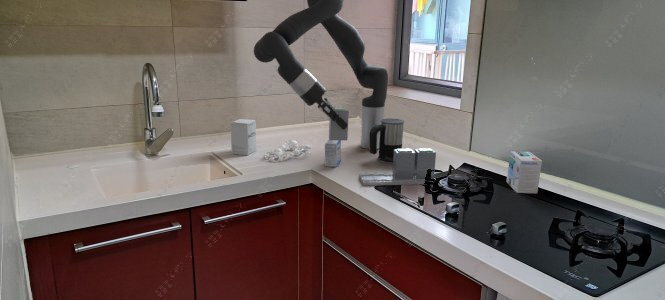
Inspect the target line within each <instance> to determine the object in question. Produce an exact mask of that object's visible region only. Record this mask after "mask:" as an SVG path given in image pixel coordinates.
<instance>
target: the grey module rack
mask: <svg viewBox="0 0 665 300" xmlns="http://www.w3.org/2000/svg"><path fill="white" fill-rule="evenodd" d="M436 156H437V152H436V151H435V149H433V148H415V149H414V150H413V149H412V148H402V149H394V158H393V161H392V163H393V164H392V173H359V174H358V178H359V180H360V182H361V184H362V185H363V187H365V186H366V187H367V186H404V185H405V186H407V185H408V186H409V185H413V184H414V185H425V184H424V183H425V177H426V174H427V170H428V169H431V170H434V171H432V172H431V179H435V180H436V178H435V171H436V159H437V158H436Z"/></svg>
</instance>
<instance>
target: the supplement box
mask: <svg viewBox="0 0 665 300" xmlns="http://www.w3.org/2000/svg"><path fill="white" fill-rule="evenodd" d="M230 141H231V142H230V143H231V147H230V148H231V154H232V155H241V156H242V155H243V156H249V155H251V154H254V152H256V151H257V120H255V119H247V118H239V119H236V120H234V121H231V122H230Z"/></svg>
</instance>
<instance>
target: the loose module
mask: <svg viewBox="0 0 665 300" xmlns="http://www.w3.org/2000/svg"><path fill="white" fill-rule="evenodd" d="M332 109H333V108H332ZM335 109H336V112H337V113H338V114H339V115H340V117H341V118H342V119H343V120H344V121H345V122H346V123H347V124H348V125H349V113H350V112H349V109H348V108H346V107H335ZM335 115H336V114H333V115H332V117H334V116H335ZM328 118H329V119H328V120H329V123H328V125H329V126H328V128H329V129H328V140H329V139H330V140H341V141H348V138H349V137H348V136H349V131H348V130H349V126H348V127H347V128H345V129H344V130H343V129H342V128H341V127H340V126H339V125H338V124H337V123H336V122H334V121H332V119H331V118H330V117H328Z"/></svg>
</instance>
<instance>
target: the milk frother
mask: <svg viewBox="0 0 665 300" xmlns="http://www.w3.org/2000/svg"><path fill="white" fill-rule="evenodd" d="M380 121H381V125H375V126H374V127H372V129H371V130H370V149H369V153H370V154H371V155H377V152H378V156H377V158H378V159H380V160H381V161H387V162H393V158H394V149H403V139H404V138H403V137H404V123H405V120H403V119H400V118H399V119H398V118H384V119H381V120H380ZM379 131H380V141H379V149H377V133H378V132H379ZM377 150H378V151H377Z"/></svg>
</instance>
